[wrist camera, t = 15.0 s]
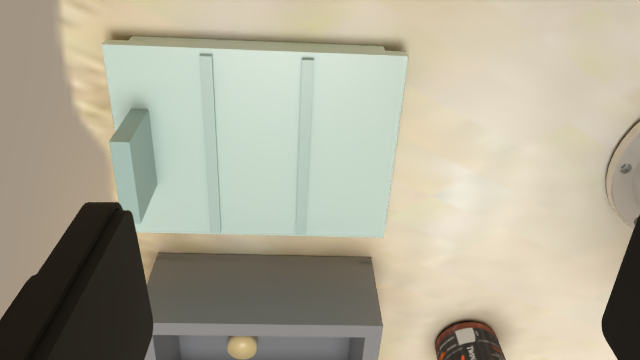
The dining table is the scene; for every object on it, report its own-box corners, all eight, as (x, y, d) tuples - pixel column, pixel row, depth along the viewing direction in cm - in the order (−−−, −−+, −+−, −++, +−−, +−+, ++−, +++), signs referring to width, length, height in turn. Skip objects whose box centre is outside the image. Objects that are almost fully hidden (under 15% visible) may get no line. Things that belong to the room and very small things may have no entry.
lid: (402, 46, 38) (422, 83, 32) (380, 221, 46) (392, 279, 40) (111, 34, 37) (74, 70, 31) (137, 216, 45) (111, 274, 39)
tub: (370, 257, 47) (382, 325, 41) (358, 362, 54) (366, 436, 47) (158, 252, 46) (133, 322, 40) (171, 360, 53) (152, 435, 46)
